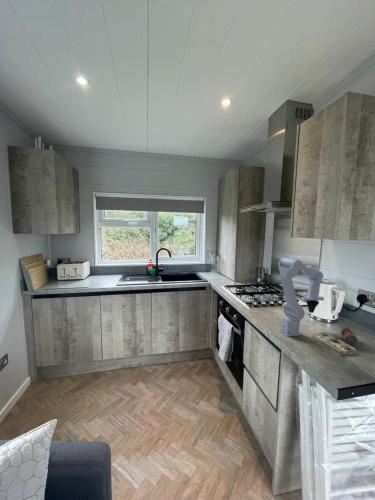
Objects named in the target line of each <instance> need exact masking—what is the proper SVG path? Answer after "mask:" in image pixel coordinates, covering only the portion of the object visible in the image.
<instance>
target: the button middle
mask: <svg viewBox="0 0 375 500" xmlns="http://www.w3.org/2000/svg"><path fill="white" fill-rule="evenodd" d="M335 337H336V336H334V337H331V341H332V342H334V343H338V339H339V338H338V337H336V338H335Z"/></svg>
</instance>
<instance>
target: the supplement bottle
mask: <svg viewBox="0 0 375 500" xmlns="http://www.w3.org/2000/svg"><path fill="white" fill-rule="evenodd" d="M340 334H341V337H342V339H343V342H344V343H346V344H348V345H349V346H351V347H356V346H357V344H358V341H359V339H358V338H357V336H356V334H355V331H353V329H351V328H348V327H347V328H346V327H344V328H342V330H341V331H340Z"/></svg>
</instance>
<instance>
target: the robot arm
mask: <svg viewBox="0 0 375 500" xmlns="http://www.w3.org/2000/svg"><path fill="white" fill-rule="evenodd" d="M277 265H278V266H277V267H278V270H279V278H280V282H281V285H282V290H283V294H284V298H285V301H284V303H283V305H282V306H283V307H282V311H283V314H284V316H285V317H282V318H281V320H280V325H279V327H280V328H278V330H279V331H280V332H281V333H283V334H284V335H285V336H287V337H296V336H303V333H301V332H300V322H301V320H303V319H304V317H305V315H306V314H305V310H304V308H303V306H302V305H301V304H300V303H299V302H298V300H297V295H296V290H295V287H294V283H293V278H296V277H297V275H298V273H299V271H302V274H303V275H304V276H306V277H307V279H308V287H307V288H308V289H307V295H306V296H302V297H301V298H300V301H301V302H304V303H305V302H306V304H307V308H308V313H311V314H313V313H314V312H315V309H316V307H318V305H319V303H320V301H325V297H324V296H320V295H319V294H320V290H321V289H320V287H321V284H322V282H323V279H324V273H323V272H322V271H320V270H317V268H314V267H313V265H311V264H309V265H306V264H305V263H303V261H302V260H299V259H294V258H290V257H284V256H283V257H281V258H280V259H279V261H278V264H277Z"/></svg>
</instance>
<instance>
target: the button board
mask: <svg viewBox="0 0 375 500" xmlns="http://www.w3.org/2000/svg"><path fill="white" fill-rule="evenodd" d="M321 333H322V332H315V333H311V339H314V340H315V341H316V342H317V343H319V344H321V345H322V346H324V347H326V348H327V349H329V350H331V351H332V352H333V353H335V354H336V355H338V356H340V357H341V356H346V355H353V354H356V353H357V349H356V348H354V346H350V345H348V344H346V343H345V341H344V340H341V339H339V338H337V337H336V336H334V335H332V334H331V333H329V332H327V331H325V332H323V333H326V334H327V336H325V337H324V336H322V335H320V334H321ZM331 337H335V338H337V339H338V343H334V342H332V341H331ZM342 346H348V347H349V348H350V350H345V349H343V348H342Z"/></svg>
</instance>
